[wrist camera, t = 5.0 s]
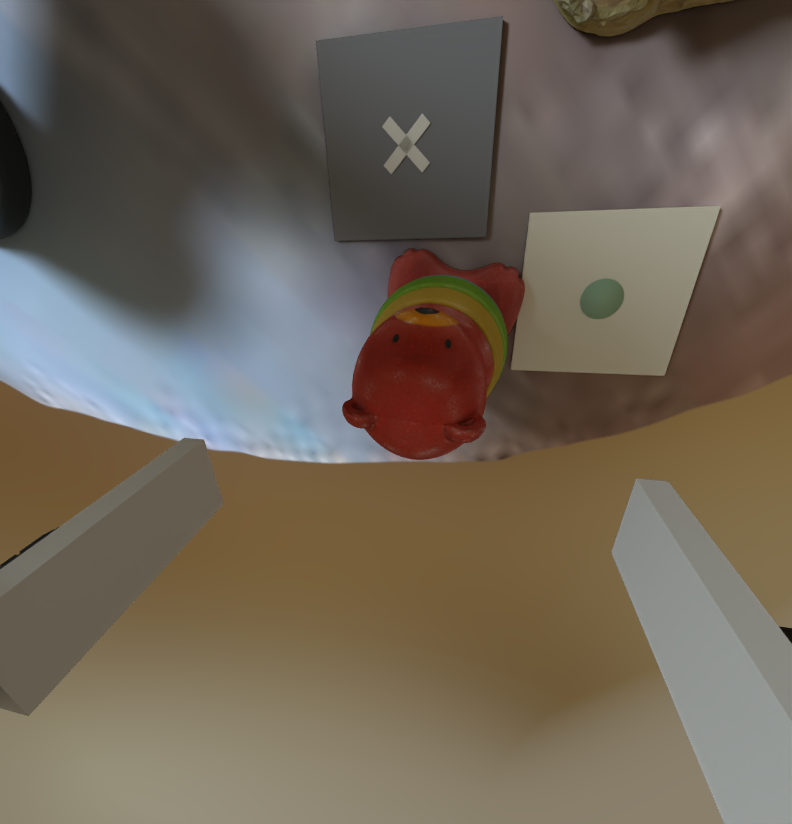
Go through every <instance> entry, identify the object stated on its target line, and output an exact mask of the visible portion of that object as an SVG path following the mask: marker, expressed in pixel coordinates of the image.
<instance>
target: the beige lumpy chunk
mask: <svg viewBox="0 0 792 824" xmlns="http://www.w3.org/2000/svg"><path fill="white" fill-rule="evenodd" d="M553 1H554V3H555V4H556V6H557V8H558V9H559V11H560V13H561V14H562V16H563V17H564V18H565V20H566V21H567V22H568V23H569V24H571V26H572V27H574V28H576V29H577V30H580V31H584V32H586V33H594V34H597V35H599V36H615V35H619V34H620V35H621V34H623V33H625V32H628V31H630V30H632V29H634V28H636V27H637V26H639V25H641V24H642V23H644V22H646V21H647V20H649V19H651V18H652V17H655V16H657V15H660V14H664V13H669V12H670V13H671V12H678V11H681V10H683V9H689V8H692V7H695V6H696V7H697V6H701V5H709V4H714V3H718V2H719V3H724V2H730V1H734V0H553Z"/></svg>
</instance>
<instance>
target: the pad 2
mask: <svg viewBox="0 0 792 824" xmlns="http://www.w3.org/2000/svg"><path fill="white" fill-rule="evenodd" d="M720 207H721V206H703V207H676V208H648V209H620V210H593V211H565V212H538V213H530V215H529V223H528V231H527V239H526V248H525V256H524V264H523V272H522V280H523V281H524V284H525V293H524V298H523V302H522V306H521V309H520V312H519V314H518V317H517V320H516V329H515V337H514V345H513V353H512V361H511V370H527V371H552V372H578V373H604V374H629V375H655V376H665V373H666V370H667V367H668V364H669V361H670V358H671V355H672V352H673V349H674V346H675V343H676V340H677V337H678V334H679V331H680V328H681V325H682V322H683V319H684V316H685V313H686V310H687V307H688V304H689V301H690V298H691V295H692V292H693V289H694V286H695V283H696V280H697V277H698V274H699V270H700V267H701V264H702V261H703V258H704V255H705V252H706V249H707V246H708V243H709V240H710V237H711V234H712V231H713V228H714V225H715V222H716V219H717V216H718V213H719V210H720Z"/></svg>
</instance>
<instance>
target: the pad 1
mask: <svg viewBox="0 0 792 824" xmlns="http://www.w3.org/2000/svg"><path fill="white" fill-rule="evenodd" d="M502 24H503V16H501V17H493V18H486V19H478V20H471V21H463V22H455V23H448V24H440V25H433V26H425V27H417V28H410V29H402V30H395V31H387V32H379V33H372V34H364V35H357V36H349V37H341V38H334V39H326V40H319V41H316V46H317V56H318V67H319V78H320V88H321V99H322V110H323V120H324V131H325V142H326V152H327V163H328V173H329V184H330V195H331V205H332V216H333V227H334V237H335V241H347V240H386V239H426V238H465V237H486V231H487V218H488V205H489V192H490V179H491V166H492V153H493V140H494V128H495V115H496V102H497V89H498V76H499V63H500V50H501V37H502Z"/></svg>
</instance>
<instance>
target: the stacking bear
mask: <svg viewBox="0 0 792 824" xmlns="http://www.w3.org/2000/svg"><path fill="white" fill-rule="evenodd" d="M524 293H525V284H524V281H523V280H522V279H520V278H519V277H518V270H517V269H516V268H514V267H506V266H505V265H504V264H502V263H493V264H490V265H487V266H485V267H482V268H479V269H475V270H468V271H464V270H458V269H454V268H451V267H449V266H447V265H445V264H444V263H442V262H441V261H440V260H439V259H438V258H437V257H436V256H435V255H434V254H433V253H431V252H430V251H428V250H426V249H421V250H416V249H414V248H410V249H408V250H406V251H405V253H404V254H403V255H401V256H399V257H397V258H396V259H395V261H394V263H393V265H392V268H391V272H390V277H389V284H388V299H387V300H386V302H385V303H384V304H383V306H382V307H381V309H380V311H379V313H378V314H377V316H376V319H375V321H374V324H373V327H372V330H371V334H370V336H369V337H368V339H367V341H366V342H365V344H364V346H363V348H362V350H361V352H360V354H359V356H358V359H357V362H356V365H355V369H354V374H353V382H352V398H351V399H350V400H348V401H346V402H345V403H344V404H343V407H342V411H343V415H344V417H345V419H346V420H347V422H348V423H350V424H351V425H353V426H354V427H357V428H365V430H366V431H367V432H368V434H369V435H370V436H371V437H372V438H373V439H374V440H375V441H376V442H377V443H378V444H380V445H381V446H382V447H384V448H385V449H387V450H388V451H390V452H392V453H394V454H396V455H399V456H401V457H405V458H408V459H416V460H423V459H431V458H436V457H439V456H442V455H445V454H447V453H449V452H451V451H453V450H455V449H456V448H458V447H459V446H461V445H462V444H463V443H468V442H472V441H474V440H476V439H477V438H479V437H480V436H481V434H482V433H483V432H484V430H485V426H486V423H485V420H484V419H483V417H482V416H483V413H484V409H485V405H486V398H487V397H488V396H489V394H490V393H491V391H492V390H493V388H494V386H495V384H496V383H497V381H498V379H499V377H500V375H501V373H502V370H503V367H504V364H505V361H506V356H507V347H508V338H507V336H508V334H509V333H510V331H511V329H512V328H513V326H514V324H515V322H516V319H517V317H518V314H519V312H520V309H521V306H522V302H523V298H524Z"/></svg>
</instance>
